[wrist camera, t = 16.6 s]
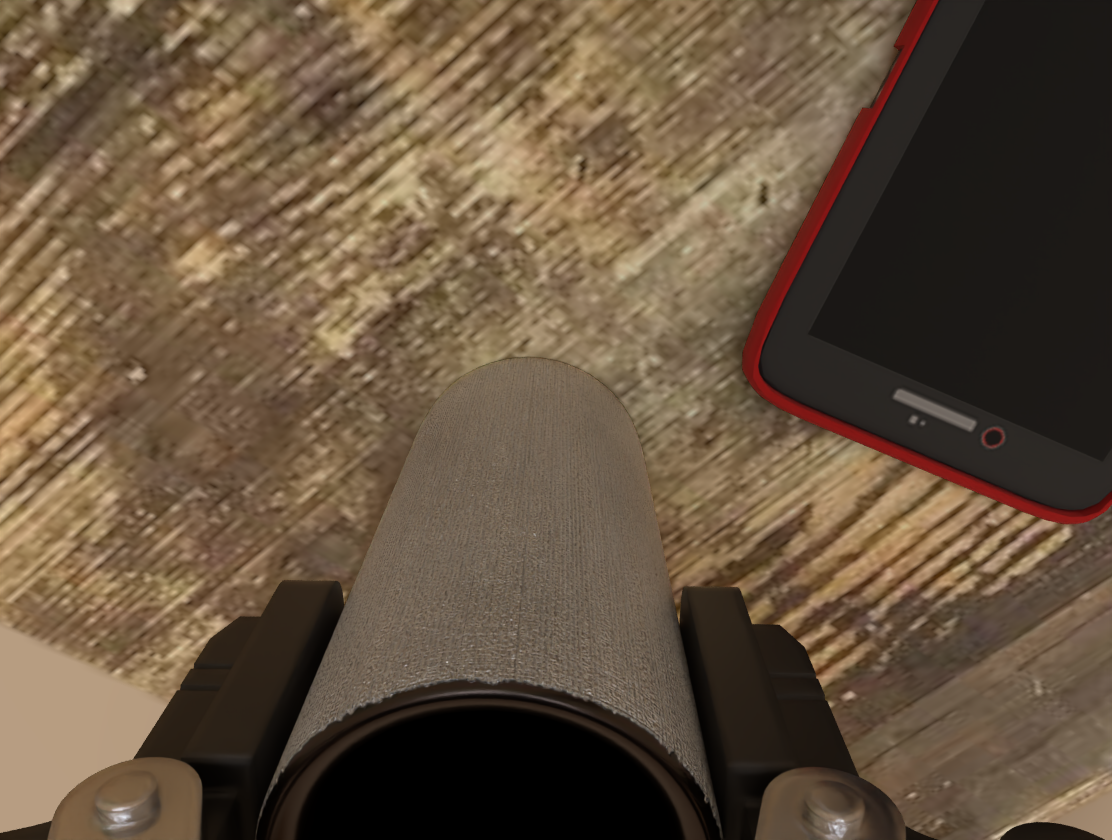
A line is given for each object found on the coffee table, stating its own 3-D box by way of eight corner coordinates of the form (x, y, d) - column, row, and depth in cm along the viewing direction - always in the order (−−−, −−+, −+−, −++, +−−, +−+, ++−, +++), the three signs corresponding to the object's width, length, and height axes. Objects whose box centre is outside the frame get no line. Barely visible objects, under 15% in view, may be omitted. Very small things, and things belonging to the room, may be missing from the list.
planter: (381, 513, 19) (188, 967, 9) (468, 315, 17) (347, 607, 8) (582, 596, 20) (600, 1102, 10) (682, 412, 18) (817, 793, 8)
